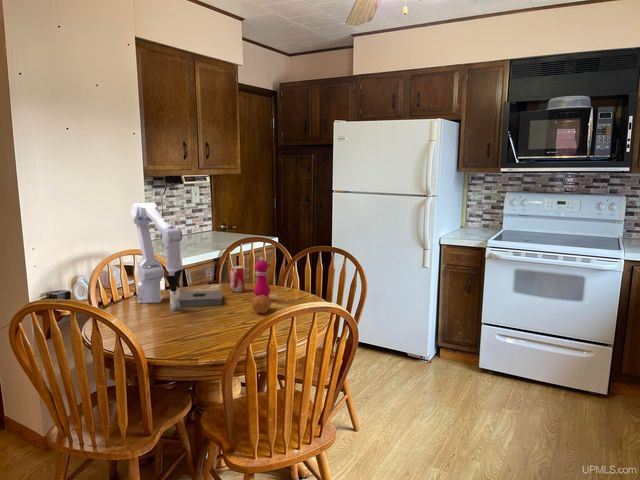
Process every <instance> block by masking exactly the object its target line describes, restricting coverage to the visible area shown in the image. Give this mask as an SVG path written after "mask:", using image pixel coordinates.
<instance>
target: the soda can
mask: <svg viewBox="0 0 640 480" xmlns="http://www.w3.org/2000/svg"><path fill="white" fill-rule="evenodd" d="M229 272H230V274H229V277H230V279H229V284H230V290H231V291H232V292H233V293H242V292H244V291H245V289H246V272H245V269H244V266H243V265H234V266H233V265H232V266H231V268H230V271H229Z"/></svg>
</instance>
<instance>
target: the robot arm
mask: <svg viewBox="0 0 640 480" xmlns="http://www.w3.org/2000/svg"><path fill="white" fill-rule="evenodd" d="M130 213H131V219H132V222H133V224H135V226H136V231H137V235H138V240H139V246H140V251H141V256H142V262H141V263H139V265H138V266H137V268H138V271H137V273H138V275H137V276H138V278H139V281H138V284H137V300H138V301H137V302H138V304H151V303H161V302H162V300H163V298H164V297H163V296H161V295H162V294H161V292H162V291H161V281H162V279H163V278H165V279H166V281H167V284H168V286H169V287H168V288H169V292H170V291H171V292H172V291H176V289H177V288H179V286H180V279H181V275H182V272H183V270H184V269H185V267H184V266H181V265H182V264H181V263H182V262H181V242H182V241H183V230H182V229H181V228H180V227H177V226H176V227H175V226H174V225H173V224H172V223H171V222H170V221H169V220H168V218H163V217H162V216H161V214H160V213H159V210H158V205H157V204H156V203H155V202H145V203H144V202H143V203H137V202H135V203H133V204H132V206H131V209H130ZM152 222H154V223H155V229H156V230H157V231H158V232H159V233H160V234H161V237H162V240H163V245H164V247H165V259H166V261H165V262H166V263H165V265H166V268H165V269H166V271H167V272H168V274H165V270H164V268H163V265H162V263H161V261H160V260H158V259H156V257H155V253H154V252H155V251H154V247H153V241H152V236H151V232H150V227H149V225H150V223H152Z"/></svg>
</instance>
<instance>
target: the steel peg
mask: <svg viewBox="0 0 640 480" xmlns="http://www.w3.org/2000/svg"><path fill="white" fill-rule="evenodd" d="M180 292H181V291H180V287H177V289H176V291H172V292H171V291H170V290H169V305H170V306H169V308H170V309H169V310H170V311H171V312H177V311H180V310H181V307H180Z"/></svg>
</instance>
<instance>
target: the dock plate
mask: <svg viewBox="0 0 640 480" xmlns="http://www.w3.org/2000/svg"><path fill="white" fill-rule="evenodd" d="M223 298H224V297H223V290H204V291H202V290H201V291H200V290H199V291H180V308H184V307H205V306H206V307H209V306H210V307H211V306H213V307H214V306H222V304H223Z"/></svg>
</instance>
